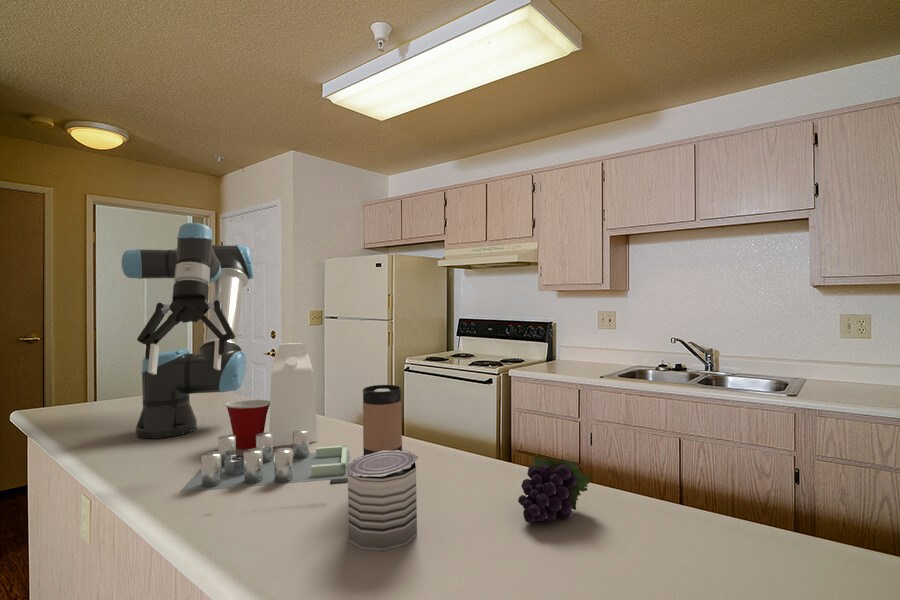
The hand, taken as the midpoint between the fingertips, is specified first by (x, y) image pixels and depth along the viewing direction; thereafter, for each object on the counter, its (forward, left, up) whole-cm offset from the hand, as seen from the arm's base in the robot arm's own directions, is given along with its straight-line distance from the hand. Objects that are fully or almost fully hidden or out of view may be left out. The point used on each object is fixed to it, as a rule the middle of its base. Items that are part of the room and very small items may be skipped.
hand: (184, 371), depth 108 cm
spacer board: (+8, +20, -22) cm, 31 cm away
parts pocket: (+8, +32, -22) cm, 40 cm away
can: (+40, +42, -22) cm, 62 cm away
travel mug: (+22, +43, -22) cm, 53 cm away
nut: (+8, +13, -21) cm, 26 cm away
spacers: (+8, +17, -22) cm, 29 cm away
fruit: (+40, +71, -22) cm, 85 cm away
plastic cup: (-11, +11, -22) cm, 27 cm away
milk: (-15, +21, -22) cm, 34 cm away
